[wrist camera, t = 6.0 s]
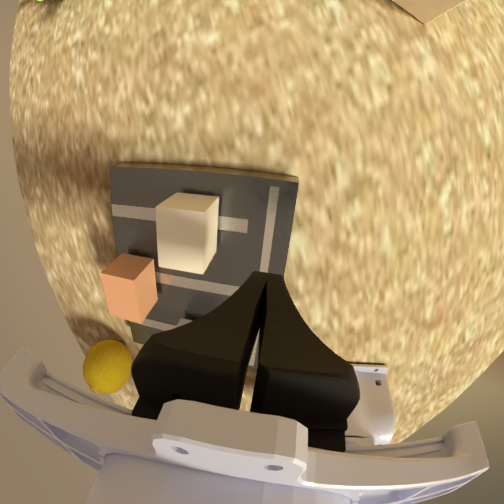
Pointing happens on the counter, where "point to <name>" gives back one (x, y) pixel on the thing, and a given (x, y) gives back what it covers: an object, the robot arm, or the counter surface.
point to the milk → (427, 8)
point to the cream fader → (187, 231)
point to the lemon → (107, 366)
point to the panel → (228, 234)
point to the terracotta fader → (130, 287)
